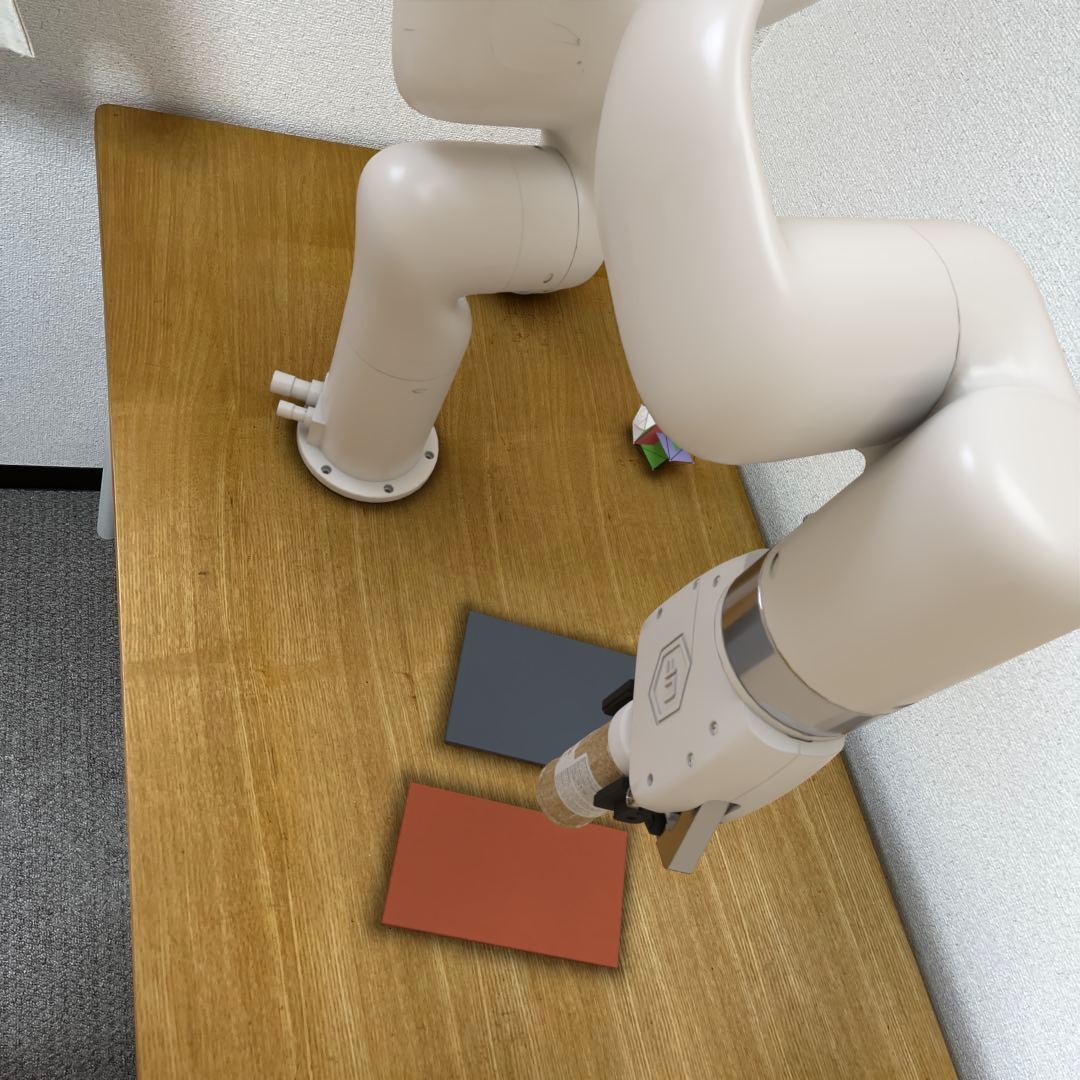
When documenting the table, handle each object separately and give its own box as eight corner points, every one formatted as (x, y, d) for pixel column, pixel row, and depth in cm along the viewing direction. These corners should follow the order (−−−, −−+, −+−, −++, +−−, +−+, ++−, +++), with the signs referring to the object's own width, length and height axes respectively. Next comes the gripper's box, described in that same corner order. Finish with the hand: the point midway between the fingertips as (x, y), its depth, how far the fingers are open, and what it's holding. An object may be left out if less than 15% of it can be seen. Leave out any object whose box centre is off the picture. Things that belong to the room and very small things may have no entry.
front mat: (380, 924, 63) (382, 923, 62) (409, 783, 68) (411, 781, 68) (614, 968, 67) (617, 967, 67) (624, 833, 72) (627, 831, 72)
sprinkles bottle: (580, 748, 59) (676, 679, 48) (611, 814, 57) (717, 759, 46) (521, 773, 57) (607, 707, 46) (551, 843, 55) (648, 792, 44)
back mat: (443, 742, 71) (445, 740, 70) (468, 613, 77) (470, 610, 76) (650, 792, 75) (653, 790, 74) (657, 666, 81) (660, 663, 80)
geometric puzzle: (689, 405, 95) (681, 373, 87) (718, 460, 92) (712, 431, 85) (627, 436, 96) (615, 406, 88) (654, 490, 93) (644, 465, 86)
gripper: (733, 437, 39) (575, 607, 54) (730, 837, 30) (540, 907, 45) (881, 488, 40) (687, 639, 55) (919, 880, 31) (676, 934, 46)
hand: (623, 758), depth 50 cm, fingers closed on sprinkles bottle, 4 cm apart
